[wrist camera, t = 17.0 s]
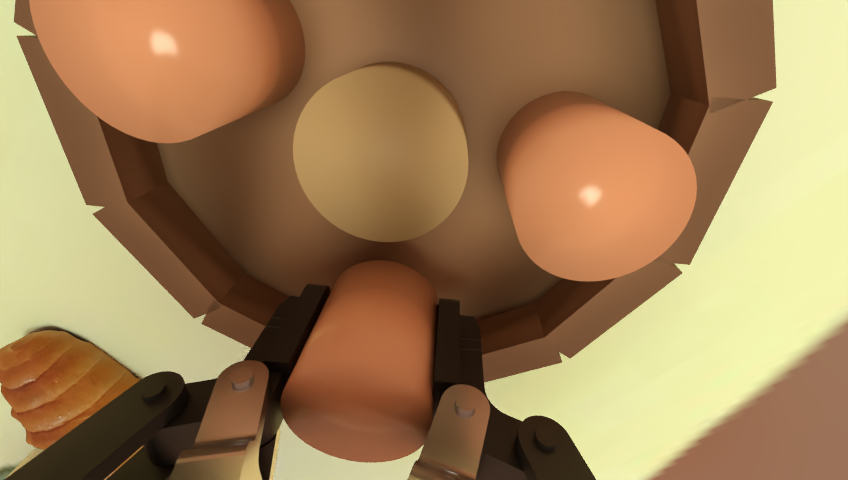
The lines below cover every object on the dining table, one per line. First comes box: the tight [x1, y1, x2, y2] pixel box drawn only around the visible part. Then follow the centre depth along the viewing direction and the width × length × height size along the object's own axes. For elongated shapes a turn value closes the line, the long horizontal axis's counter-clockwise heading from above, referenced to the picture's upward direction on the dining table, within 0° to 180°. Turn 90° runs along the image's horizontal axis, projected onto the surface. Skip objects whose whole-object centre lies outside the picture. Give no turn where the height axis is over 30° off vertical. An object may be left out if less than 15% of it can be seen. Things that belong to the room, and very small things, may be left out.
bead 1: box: [29, 0, 305, 143], centre depth 10 cm, size 4×4×4 cm
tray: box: [14, 0, 776, 382], centre depth 12 cm, size 20×20×4 cm
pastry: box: [0, 330, 143, 480], centre depth 21 cm, size 9×7×4 cm
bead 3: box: [496, 91, 697, 282], centre depth 11 cm, size 4×4×4 cm
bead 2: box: [280, 260, 439, 462], centre depth 12 cm, size 4×4×4 cm
